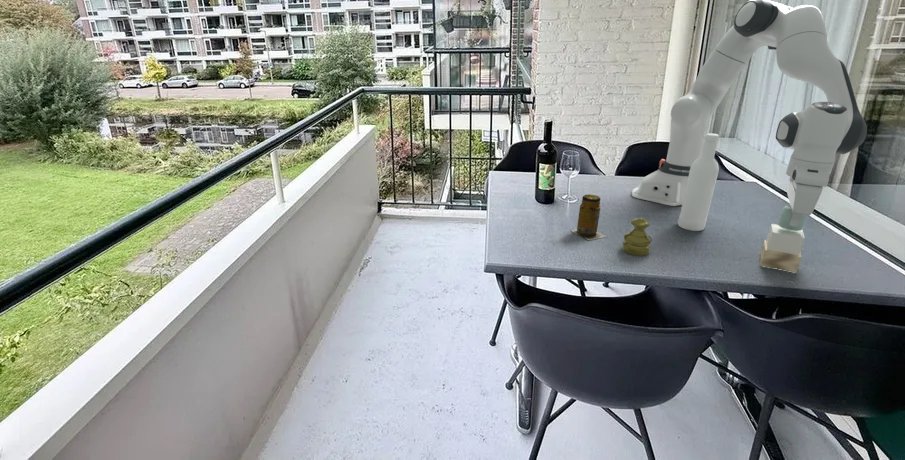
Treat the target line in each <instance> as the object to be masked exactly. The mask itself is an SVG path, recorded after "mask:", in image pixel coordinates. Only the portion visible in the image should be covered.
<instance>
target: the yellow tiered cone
mask: <svg viewBox="0 0 905 460" xmlns="http://www.w3.org/2000/svg"><path fill="white" fill-rule="evenodd" d="M630 223H631V225H633V229H631V230H630V231H627V232H625V233H624V235H623V241H622V246H621V250H622V251H623V252H624V253H625V254H628V255H631V256H636V257H639V256H640V257H643V256H647V255H649V253H650V250H651V244H652V240H653V239H652V237H651V236H650V235H649V234H648V233H647V232H646V231H645V230H646V228H649V226H650V225H651V223H650V221H649V220H647V219H645V218H644V217H637V218H634V219H632V220H631V221H630Z"/></svg>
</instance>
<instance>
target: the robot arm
mask: <svg viewBox="0 0 905 460" xmlns="http://www.w3.org/2000/svg"><path fill="white" fill-rule="evenodd" d="M765 46H766V47H767V49H768V50H776V62H777V63H776V64H777V67H778V68H779V70H780V72H781V73H783V74H784V75H785V76H787V77H789V78H790V79H791V78H792V79H794V80H796V81H797V80H798V81H802V82H803V83H808V84H810V85H812V86H814V87H816V88H819V89H820V90H821V91H822V92H823V93H824V95H825V96H826V100H827V101H817V102H812V103H811V104H809V106H808V107H807V108H805V109H804V110H800V111H796V112H795V111H794V112H790V113H788V114H786V115H785V116H784V117H783V118H781V119H780V121H779V122H778V125H777V129H776V133H775V139H776V141H777V143H778V144H779V145H780V146H781V147H782V148H785V149H788V150H789V149H790V150H793V151H792V154H791V156H790V159H789V162H788V165H787V168H786V171H785V174H786V175H787V176H788V177H790V178H789V184H788V187H787V191H786V194H787V199H788V202H789V203H788V204H789V205H788V206H791V209H792V216H791V218H790V221H789V225H790V226H795V227H796V226H798V224H799V221H800V219H801V218H802V216H806V218H807V217H810V216H811V215H812V214H813V212H814V210H815V208H816V206H817V203H818V201H819V199H820V197H821V194H822V192H823V188H824V187H825V188H826V187H828V185H829V182H830V177H831V174H832V171H833V168H834V165H835V161H836V154H838V155H845V154H848V153H850V152H852V151H854V150H855V149H858V148H859V147H860V145H862V144H863V143H864V142H865V140H866V138H867V133H868V126H867V123H866V121H865V119H864V117H863V115H862V114H861V112H860V110H859V107H858V104H857V100H856V96H855V93H854V90H853V85H852V82H851V79H850V76H849V73H848V70H847V68H846V65H845V63H844V61H842V60H840V58H837V56H836V55H835V54H834V53H833V52H832V50H831V49H830V47H829V44H828V38H827V28H826V23H825V20H824V16H823V14H822V12H821V10H820V9H819V8H818V7H816V6H814V5H810V4H809V5H808V4H805V5H798V6H796V7H791V6H789V5H786V4H782V3H778V2H775V1H772V0H748V1H746V2H745V3H744V4H743V5H742V6H741V7H740V8H739V9H738V11H737V12H736V15H735V18H734V21H733V25H732V26H731V27H730V28H729V29H728V31H726V33H725V34H724V35H723V36H722V38H721V39H720V40H719V42H718V43H717V45H716V46H715V47H714V49H713V50H712V52H710V55H709V56H708V58H707V59H706V61H705V62H704V64H703V65H702V66H701V68H700V70H699V72H698V75H697V77H696V79H695V80H694V83H693V85H692V86H691V88H690V90H689V91H688V92H687V94H686V95H683V96H681V97H679V98H678V99H677V100H676V101H675V102H674V103H673V106H672V107H671V110H670V137H669V139H670V140H669V144H668V149H667V155H666V159H664V158H661V159H660V160H659V163H658V165H659V166H658V169H657V170H655V171H653V172H651V173H649V174H648V175H646V176H644V177H643V178H642V179H641V181H640V182H639V183H640V184H639V185H638V186H637V187H634V188H633V189H632V190H631V196H632V197H633V198H635V199H640V200H645V201H648V202H653V203H657V204H661V205H666V206H669V207H676V206H677V207H678V206H682V204H683V199H684V195H685V190H686V186H687V181H688V176H689V172H690V167H691V165H692V164H693V162H694V160H696V159H697V158H699V157H700V156H701V153H702V148H703V144H704V138H705V128H706V123H707V120H709V119H710V118H711V117H712V116H713V114H714V113H715V111H716V110H717V108H718V106H719V105H720V104H721V103H722V101H723V99H724V98H725V95H727V93H728V91H729V89H730V87H731V86H732V85H733V83H734V82H735V81H736V79H737V78H738V76H739V75H740V74H741V72H742V71H743V70H744V68H745V66H747V64H748V62H749V61H750V60H751V58H752V57H753V54H755V53H756V52H757V50H758V49H760V48H762V47H765Z"/></svg>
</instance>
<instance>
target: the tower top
mask: <svg viewBox="0 0 905 460" xmlns="http://www.w3.org/2000/svg"><path fill="white" fill-rule="evenodd" d="M805 239H806V237H805V234H804V231H803V229H802V230H800V231H794V230H788V229H784V228H782V227H780V226H779V225H778V224H776V223H771V224H770V226H769V231H768V233H767V237H766V239H765V240H766V243H767V250H773V251H778V252H783V253H788V254H793V255H798V256H799V254H800V252H801V251H802V248H803V244H804V242H805Z"/></svg>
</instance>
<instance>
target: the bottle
mask: <svg viewBox="0 0 905 460" xmlns="http://www.w3.org/2000/svg"><path fill="white" fill-rule="evenodd" d="M719 138H720V135H719V134H718V133H710V132H709V133H706V134H704V144H703V148H702V153H701V156H700V157H699V158H697V159H696V160H694V162H693V164H692V165H691V167H690V172H689V176H688V181H687V186H686V190H685V195H684V199H683V204H682V205H681V208H680V213H679V217H678V222H677V224H678V225H677V226H678V227H680V228H682V229H684V230H687V231H693V232H700V231H703V230H704V229H705V228H706V225H707V219H708V215H709V213H710V212H709V211H710V207H711V203H712V199H713V195H714V192H715V191H714V190H715V187H716V182H717V179H718V176H719V171H720V170H719V163H718V161H717V160H716V159H715V154H716V152H717V151H716V150H717V146H718V142H719V140H720V139H719Z"/></svg>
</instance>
